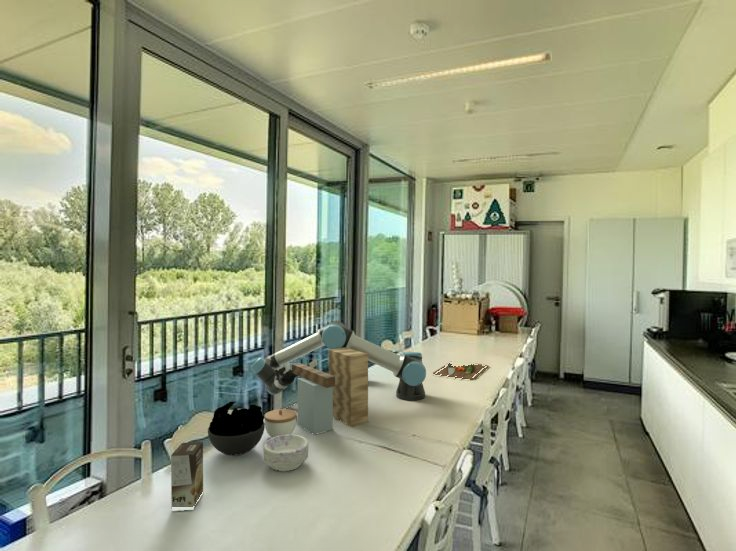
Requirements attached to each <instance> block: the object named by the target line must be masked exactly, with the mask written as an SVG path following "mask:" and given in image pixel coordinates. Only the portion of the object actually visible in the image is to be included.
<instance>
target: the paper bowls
mask: <svg viewBox="0 0 736 551" xmlns="http://www.w3.org/2000/svg"><path fill="white" fill-rule="evenodd" d="M262 447H263V454H262V455H263V458H262V459H263V462H264V463H266V465H268V466H270V467H271V469H273V470H274V469H275V470H274V471H277V470H279V471H278V472H289V471H288V470H291V471H293V469H294V470H296V469H297V468H299V467H300V466H301V465H302V463H303V462H305V461H307V459H308V458H309V441H308V439H307V438H306V437H304V436H303V435H298V434H288V435H280V436H276V437H273V438H272V437H270V438H269V439H267V440H266V441H265V442H264V443H263V446H262Z"/></svg>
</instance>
